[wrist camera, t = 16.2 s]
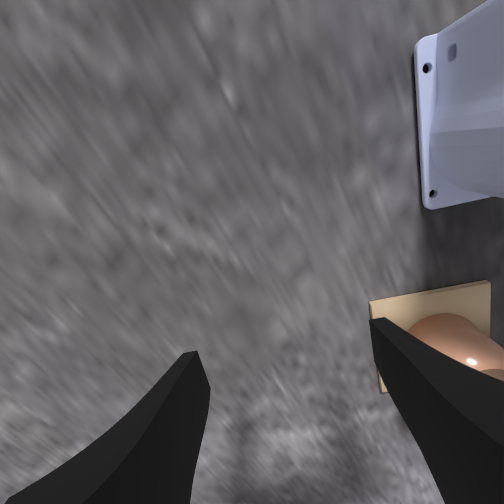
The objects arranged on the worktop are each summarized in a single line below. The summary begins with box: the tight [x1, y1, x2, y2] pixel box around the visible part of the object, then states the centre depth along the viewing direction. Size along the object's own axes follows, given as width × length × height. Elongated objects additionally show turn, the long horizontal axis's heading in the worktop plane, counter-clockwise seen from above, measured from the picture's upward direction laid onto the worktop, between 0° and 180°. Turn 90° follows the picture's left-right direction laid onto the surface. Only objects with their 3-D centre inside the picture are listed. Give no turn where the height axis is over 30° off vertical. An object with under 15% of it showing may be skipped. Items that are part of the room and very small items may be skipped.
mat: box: [369, 280, 491, 392], centre depth 22 cm, size 8×8×1 cm
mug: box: [407, 313, 504, 381], centre depth 20 cm, size 9×6×5 cm, turn 13°
